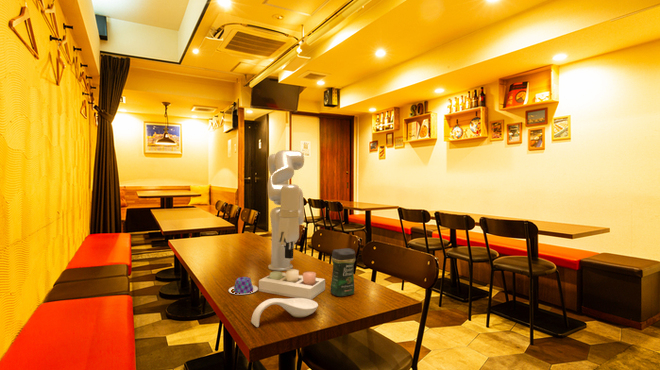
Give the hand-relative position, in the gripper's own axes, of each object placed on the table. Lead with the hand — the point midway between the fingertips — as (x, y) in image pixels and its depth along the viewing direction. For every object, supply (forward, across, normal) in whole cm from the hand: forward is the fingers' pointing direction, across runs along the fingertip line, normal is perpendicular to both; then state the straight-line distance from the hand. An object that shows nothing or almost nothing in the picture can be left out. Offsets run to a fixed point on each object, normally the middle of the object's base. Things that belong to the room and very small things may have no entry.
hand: (289, 257), depth 142 cm
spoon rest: (+15, +23, +14) cm, 31 cm away
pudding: (+14, +9, -16) cm, 23 cm away
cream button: (+10, -1, +1) cm, 11 cm away
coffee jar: (+14, -8, +22) cm, 27 cm away
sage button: (+12, 0, -7) cm, 14 cm away
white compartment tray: (+14, -1, +1) cm, 14 cm away
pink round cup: (+11, -1, +9) cm, 14 cm away
